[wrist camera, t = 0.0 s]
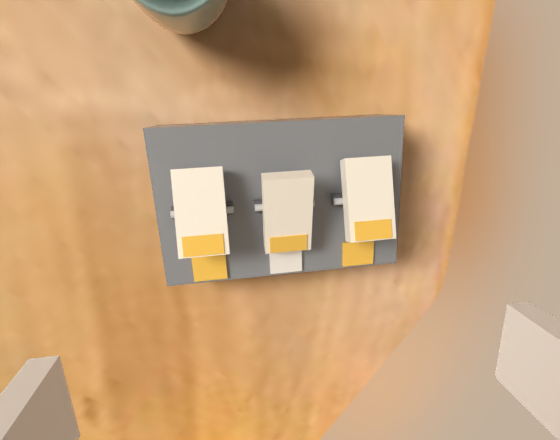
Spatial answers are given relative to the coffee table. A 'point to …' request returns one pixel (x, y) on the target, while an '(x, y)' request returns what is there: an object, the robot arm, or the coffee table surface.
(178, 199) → the rocker
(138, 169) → the coffee table surface
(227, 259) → the console
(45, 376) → the robot arm
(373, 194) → the block
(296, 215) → the rocker
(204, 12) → the cup
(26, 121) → the coffee table surface
